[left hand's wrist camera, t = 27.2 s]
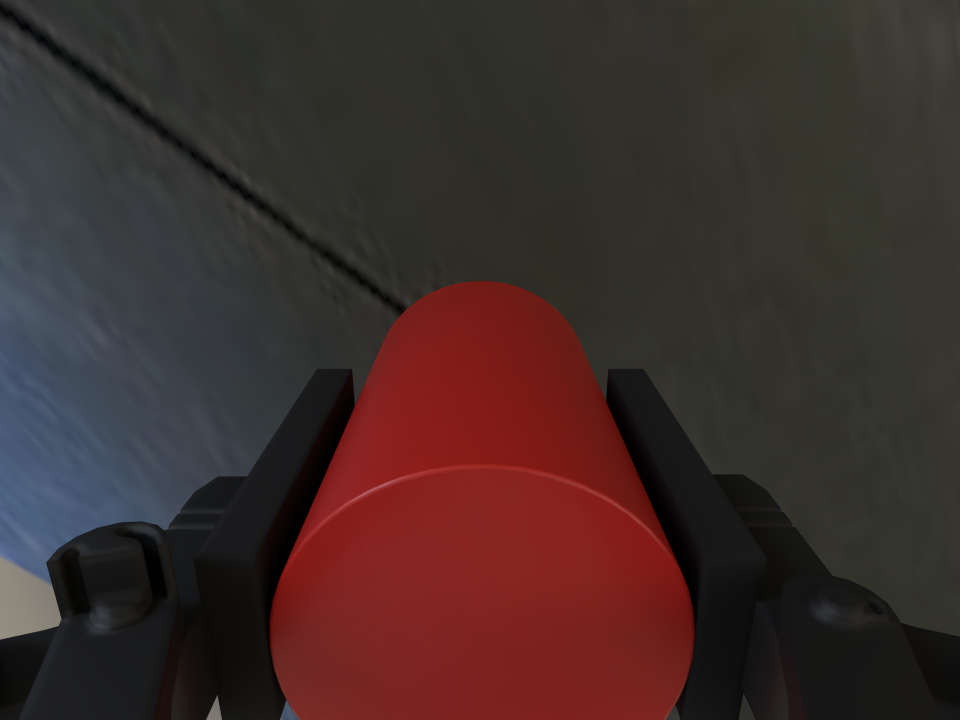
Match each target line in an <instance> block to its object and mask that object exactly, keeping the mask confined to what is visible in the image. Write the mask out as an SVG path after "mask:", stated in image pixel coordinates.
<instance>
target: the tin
mask: <svg viewBox="0 0 960 720" xmlns="http://www.w3.org/2000/svg"><path fill="white" fill-rule="evenodd" d="M694 642H695V619H694V609H693V605H692V601H691V597H690V592H689V589H688V586H687V584H686V582H685V579H684V577H683V574H682V572H681V570H680V567H679V565H678V563H677V560H676V558H675V556H674V554H673V551H672V549H671V547H670V545H669V542H668V540H667V538H666V536H665V533H664V531H663V529H662V527H661V524H660V522H659V520H658V518H657V515H656V513H655V511H654V509H653V506H652V504H651V502H650V500H649V497H648V495H647V493H646V491H645V488H644V486H643V484H642V482H641V479H640V477H639V475H638V472H637V470H636V468H635V466H634V463H633V461H632V459H631V457H630V454H629V452H628V450H627V448H626V445H625V443H624V441H623V439H622V436H621V434H620V432H619V430H618V427H617V425H616V423H615V421H614V418H613V416H612V414H611V412H610V409H609V407H608V405H607V403H606V400H605V398H604V396H603V394H602V391H601V389H600V387H599V385H598V382H597V380H596V378H595V375H594V373H593V371H592V369H591V366H590V364H589V362H588V360H587V357H586V355H585V353H584V351H583V348H582V346H581V344H580V342H579V339H578V337H577V336H576V334H575V332H574V331H573V329H572V327H571V326H570V324H569V323H568V322H567V321H566V320H565V318H564V317H563V316H562V315H561V314H560V313H559V312H558V311H557V310H556V309H555V308H554V307H553V306H552V305H550V304H549V303H547V302H546V301H545V300H543V299H542V298H540V297H538V296H537V295H535V294H533V293H531V292H529V291H527V290H524V289H521V288H519V287H516V286H513V285H509V284H504V283H500V282H490V281H471V282H464V283H458V284H454V285H451V286H447V287H444V288H441V289H439V290H436V291H434V292H432V293H430V294H428V295H426V296H425V297H423V298H421V299H420V300H418V301H417V302H415V303H414V304H413V305H412V306H410V307H409V308H408V309H407V310H406V311H405V312H404V313H403V314H402V315H401V316H400V317H399V318H398V319H397V320H396V322H395V323H394V324H393V326H392V327H391V329H390V330H389V332H388V334H387V336H386V337H385V339H384V341H383V343H382V346H381V348H380V350H379V352H378V355H377V357H376V359H375V362H374V364H373V366H372V368H371V371H370V373H369V375H368V378H367V380H366V382H365V384H364V387H363V389H362V391H361V394H360V396H359V398H358V400H357V403H356V405H355V407H354V410H353V412H352V414H351V416H350V419H349V421H348V423H347V426H346V428H345V430H344V432H343V435H342V437H341V439H340V442H339V444H338V446H337V448H336V451H335V453H334V455H333V458H332V460H331V462H330V464H329V467H328V469H327V471H326V474H325V476H324V478H323V480H322V483H321V485H320V487H319V490H318V492H317V494H316V496H315V499H314V501H313V503H312V506H311V508H310V510H309V512H308V515H307V517H306V519H305V522H304V524H303V526H302V528H301V531H300V533H299V535H298V538H297V540H296V542H295V544H294V547H293V549H292V551H291V554H290V556H289V558H288V560H287V563H286V565H285V567H284V570H283V572H282V574H281V576H280V579H279V582H278V585H277V588H276V591H275V594H274V597H273V601H272V607H271V614H270V620H269V643H270V650H271V656H272V661H273V667H274V671H275V673H276V676H277V679H278V682H279V685H280V688H281V690H282V692H283V694H284V696H285V698H286V699H287V701H288V703H289V705H290V707H291V709H292V710H293V712H294V713H295V714H296V716H297V717H298V718H299V720H665V719H666V718H667V717H668V715H669V713H670V712H671V710H672V709H673V707H674V705H675V704H676V702H677V701H678V699H679V697H680V694H681V692H682V690H683V688H684V685H685V683H686V681H687V678H688V674H689V671H690V667H691V663H692V660H693V652H694Z"/></svg>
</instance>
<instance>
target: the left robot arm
mask: <svg viewBox="0 0 960 720" xmlns="http://www.w3.org/2000/svg"><path fill="white" fill-rule="evenodd" d="M606 403H607V405H608V407H609V409H610V412H611V414H612V416H613V418H614V421H615V423H616V425H617V427H618V430H619V432H620V434H621V436H622V439H623V441H624V443H625V445H626V448H627V450H628V452H629V454H630V457H631V459H632V461H633V463H634V466H635V468H636V470H637V472H638V475H639V477H640V479H641V482H642V484H643V486H644V488H645V491H646V493H647V495H648V497H649V500H650V502H651V504H652V506H653V509H654V511H655V513H656V515H657V518H658V520H659V522H660V524H661V527H662V529H663V531H664V533H665V536H666V538H667V540H668V542H669V545H670V547H671V549H672V551H673V554H674V556H675V558H676V560H677V563H678V565H679V567H680V570H681V572H682V574H683V577H684V579H685V582H686V584H687V586H688V589H689V592H690V597H691V601H692V605H693V609H694V619H695V642H694V652H693V660H692V663H691V667H690V671H689V674H688V678H687V681H686V683H685V685H684V688H683V690H682V692H681V694H680V697H679V699H678V701H677V702H676V707H677V710H678V713H679V716H680V719H681V720H738V719H739V714H740V708H741V703H742V697H743V692H744V695H745V697H746V699H747V701H748V703H749V705H750V708H751V710H752V712H753V714H754V716H755V719H756V720H960V637H959V636H954V635H949V634H945V633H940V632H936V631H931V630H926V629H922V628H917V627H913V626H910V625H906V624H903V623H900V621H899V618H898V617H897V616H896V614H895V613H894V611H893V610H892V609H891V607H890V606H889V604H888V603H886V602H885V601H884V600H883V599H881V598H880V597H879V596H877V595H876V594H875V593H873V592H872V591H871V590H869V589H867V588H865V587H863V586H860V585H858V584H856V583H854V582H852V581H850V580H846V579H843V578H839V577H835V576H832V575H831V573H830V572H829V571H828V569H827V568H826V567H825V565H824V564H823V563H822V562H821V560H820V559H819V558H818V556H817V555H816V554H815V552H814V551H813V550H812V549H811V547H810V546H809V545H808V543H807V542H806V541H805V540H804V538H803V537H802V536H801V534H800V533H799V532H798V530H797V529H796V528H795V527H792V523H791V521H790V520H789V519H788V517H787V516H786V515H785V514H784V512H781V510H780V509H781V508H780V507H779V506H778V504H777V503H776V502H775V501H774V499H773V498H772V497H771V495H770V494H769V493H768V491H767V490H765V489H764V488H762V487H761V486H759V485H758V484H756V483H755V482H753V481H752V480H750V479H749V478H747V477H746V476H744V475H712V474H711V472H710V471H709V469H708V467H707V466H706V464H705V463H704V461H703V460H702V458H701V457H700V455H699V454H698V452H697V451H696V449H695V447H694V446H693V444H692V443H691V441H690V440H689V438H688V437H687V435H686V434H685V432H684V431H683V429H682V428H681V426H680V424H679V423H678V421H677V420H676V418H675V417H674V415H673V414H672V412H671V411H670V409H669V408H668V406H667V405H666V403H665V401H664V400H663V398H662V397H661V395H660V394H659V392H658V391H657V389H656V388H655V386H654V385H653V383H652V381H651V380H650V378H649V377H648V375H647V374H646V372H645V371H644V369H608V382H607V396H606ZM354 407H355V403H354V389H353V375H352V369H317V370H316V372H315V373H314V375H313V376H312V378H311V379H310V381H309V382H308V384H307V385H306V387H305V388H304V390H303V392H302V393H301V395H300V396H299V398H298V399H297V401H296V402H295V404H294V405H293V407H292V408H291V410H290V412H289V413H288V415H287V416H286V418H285V419H284V421H283V422H282V424H281V425H280V427H279V428H278V430H277V431H276V433H275V435H274V436H273V438H272V439H271V441H270V442H269V444H268V445H267V447H266V448H265V450H264V451H263V453H262V454H261V456H260V458H259V459H258V461H257V462H256V464H255V465H254V467H253V468H252V470H251V471H250V473H249V474H248V476H247V477H217V478H215V479H214V480H212V481H211V482H209V483H208V484H206V485H205V486H203V487H202V488H200V489H199V490H197V491H196V492H194V494H193V495H192V496H191V497H190V499H189V500H188V501H187V503H186V504H185V505H184V507H183V508H182V509H181V511H180V514H177V516H176V517H175V518H174V520H173V521H172V522H171V524H170V525H169V529H168V530H165V531H164V530H163V529H162V528H160V527H159V526H158V525H155V524H150V523H146V522H120V523H116V524H112V525H108V526H103V527H99V528H96V529H94V530H91V531H89V532H87V533H84V534H82V535H80V536H77V537H75V538H74V539H72V540H71V541H69V542H68V543H66V544H65V545H63V546H62V547H60V548H59V549H57V551H56V552H55V553H54V554H53V555H52V556H51V558H50V559H49V560H48V561H47V562H46V564H47V567H48V571H49V575H50V578H51V582H52V586H53V589H54V593H55V596H56V600H57V604H58V607H59V611H60V615H61V618H62V620H61V622H60V624H59V626H57V627H54V628H50V629H47V630H43V631H38V632H33V633H29V634H24V635H20V636H15V637H10V638H6V639H1V640H0V720H206V719H207V716H208V714H209V712H210V710H211V708H212V706H213V703H214V701H215V699H216V697H217V695H218V700H219V706H220V711H221V717H222V720H280V718H281V715H282V712H283V709H284V706H285V703H286V700H287V699H286V698H285V696H284V694H283V692H282V690H281V688H280V685H279V682H278V679H277V676H276V673H275V671H274V667H273V661H272V656H271V650H270V643H269V620H270V614H271V607H272V601H273V597H274V594H275V591H276V588H277V585H278V582H279V579H280V576H281V574H282V572H283V570H284V567H285V565H286V563H287V560H288V558H289V556H290V554H291V551H292V549H293V547H294V544H295V542H296V540H297V538H298V535H299V533H300V531H301V528H302V526H303V524H304V522H305V519H306V517H307V515H308V512H309V510H310V508H311V506H312V503H313V501H314V499H315V496H316V494H317V492H318V490H319V487H320V485H321V483H322V480H323V478H324V476H325V474H326V471H327V469H328V467H329V464H330V462H331V460H332V458H333V455H334V453H335V451H336V448H337V446H338V444H339V442H340V439H341V437H342V435H343V432H344V430H345V428H346V426H347V423H348V421H349V419H350V416H351V414H352V412H353V410H354Z"/></svg>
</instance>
